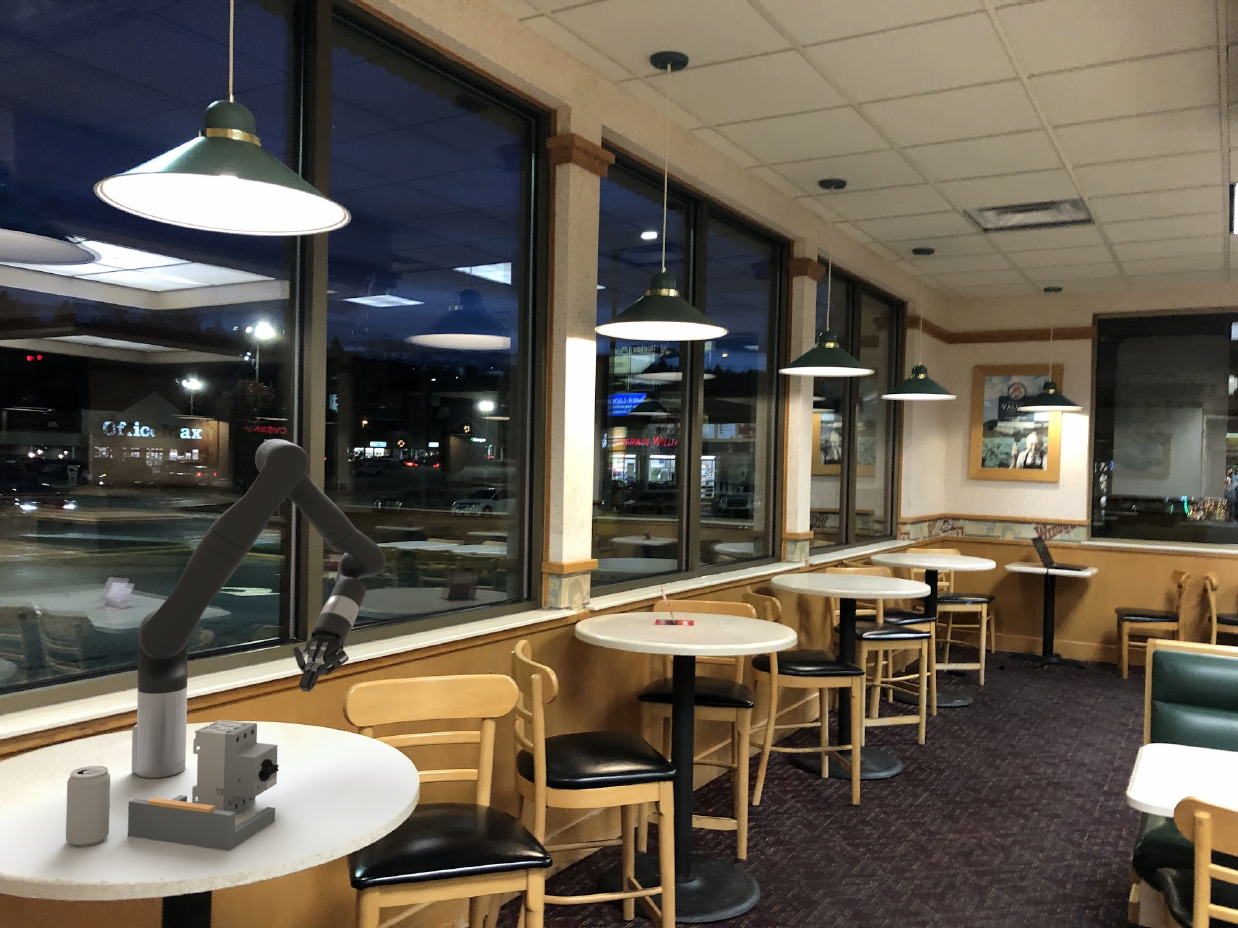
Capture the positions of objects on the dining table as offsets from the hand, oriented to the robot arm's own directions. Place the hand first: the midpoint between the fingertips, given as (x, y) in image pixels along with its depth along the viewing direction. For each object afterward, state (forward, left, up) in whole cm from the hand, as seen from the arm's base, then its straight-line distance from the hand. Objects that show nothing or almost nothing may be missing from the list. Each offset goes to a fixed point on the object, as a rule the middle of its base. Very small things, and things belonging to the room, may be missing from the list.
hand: (304, 689), depth 195 cm
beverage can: (-15, -41, -17) cm, 47 cm away
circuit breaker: (0, -21, -17) cm, 27 cm away
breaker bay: (0, -31, -17) cm, 35 cm away
